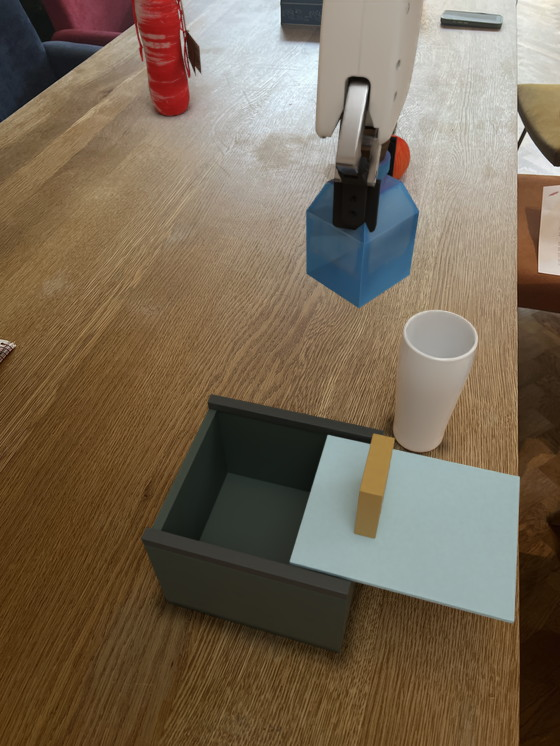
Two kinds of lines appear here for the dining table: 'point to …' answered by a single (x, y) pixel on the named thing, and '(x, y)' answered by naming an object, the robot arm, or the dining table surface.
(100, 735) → the dining table surface
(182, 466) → the display box
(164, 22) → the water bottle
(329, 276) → the perfume bottle
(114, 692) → the dining table surface
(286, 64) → the dining table surface
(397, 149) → the apple
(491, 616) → the box lid
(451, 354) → the drinking glass
